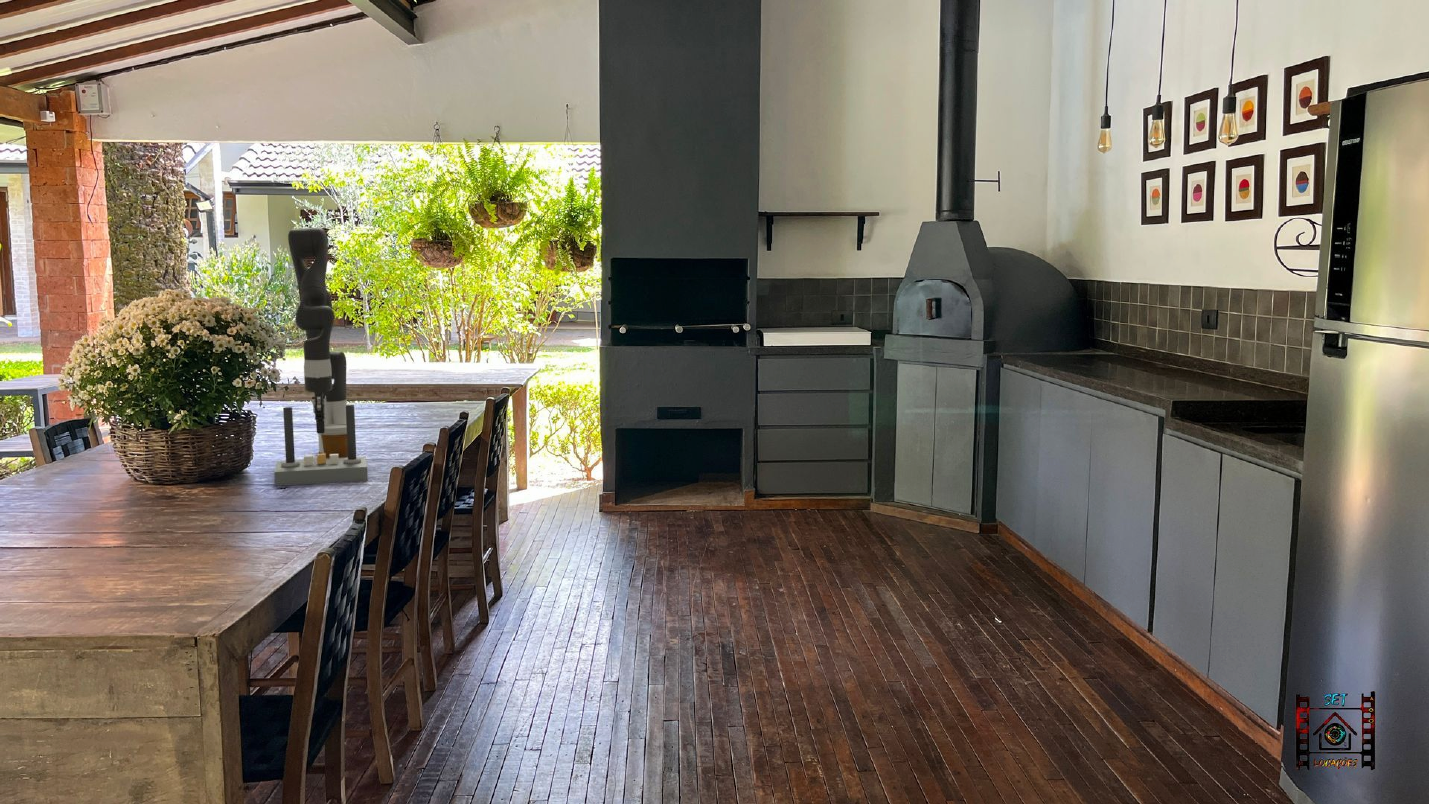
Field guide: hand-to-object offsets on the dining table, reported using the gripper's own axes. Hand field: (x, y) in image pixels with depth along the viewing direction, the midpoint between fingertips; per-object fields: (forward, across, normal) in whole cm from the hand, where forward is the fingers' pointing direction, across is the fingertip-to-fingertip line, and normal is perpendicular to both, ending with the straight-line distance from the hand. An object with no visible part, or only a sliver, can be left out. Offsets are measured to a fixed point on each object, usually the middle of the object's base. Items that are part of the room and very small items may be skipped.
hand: (320, 432), depth 317 cm
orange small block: (+8, +3, 0) cm, 9 cm away
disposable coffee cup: (+13, -16, +4) cm, 21 cm away
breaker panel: (+13, +3, 0) cm, 13 cm away
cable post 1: (+9, +3, -9) cm, 13 cm away
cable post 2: (+9, +3, +8) cm, 12 cm away
